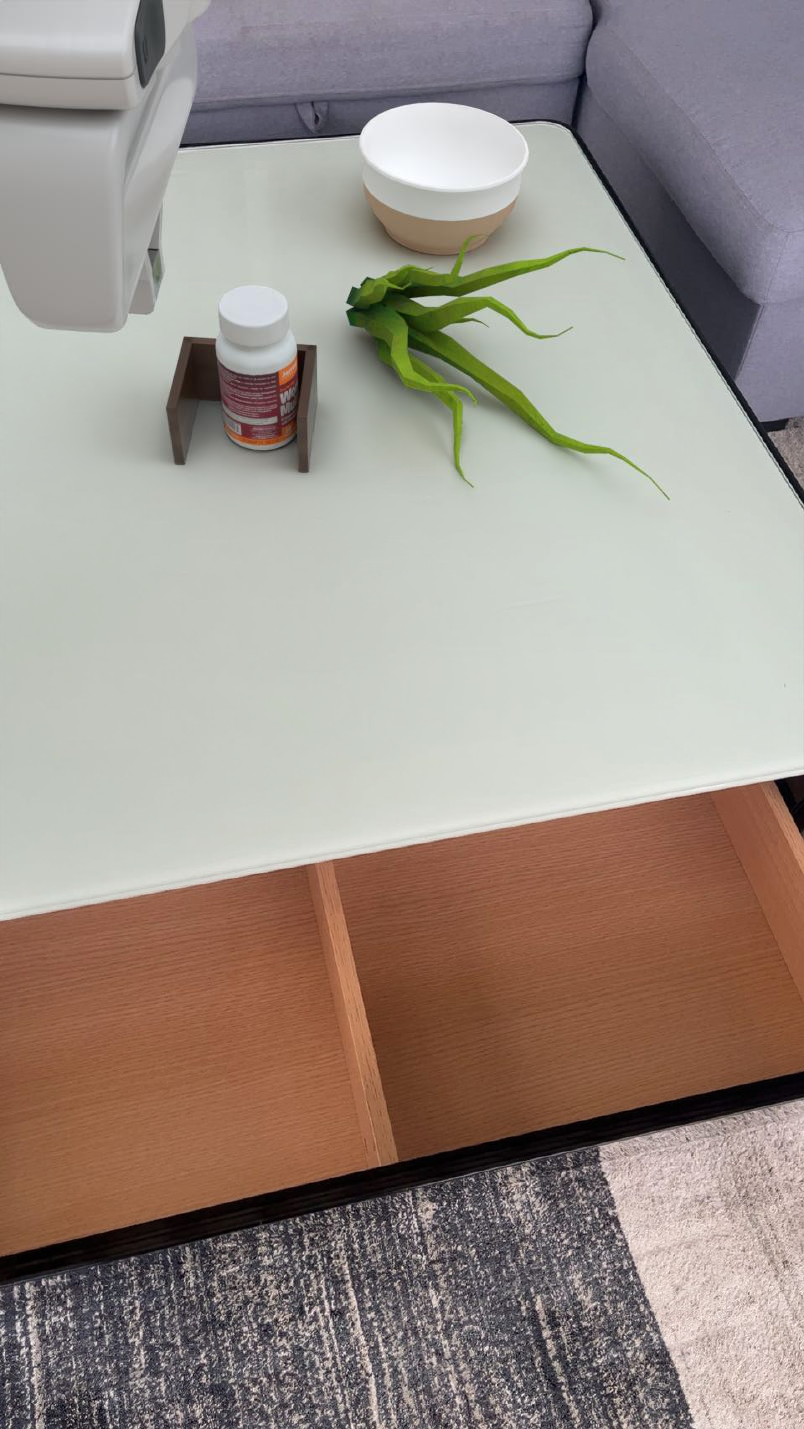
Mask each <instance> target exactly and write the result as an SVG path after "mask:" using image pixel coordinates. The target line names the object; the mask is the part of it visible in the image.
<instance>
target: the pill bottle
mask: <svg viewBox="0 0 804 1429" xmlns="http://www.w3.org/2000/svg"><path fill="white" fill-rule="evenodd" d="M217 306H218V307H217V312H218V324H219V330H220V331H219V332H218V333H217V335H216V338H217V339H216V356H217V363H218V371H219V380H220V391H221V400H222V401H221V408H222V419H223V426H224V431H225V433H226V435H227V436H228V438H230V439H231V441H233V442H234V443H235V444H236V445H239V446H241V447H242V448H246V449H250V450H255V451H269V450H275V449H279V448H280V447H283V446H285V445H287V444H289V443H290V442H291V441H292V440H293V439H294V438H295V437H296V435H297V411H298V404H299V394H298V366H297V344H298V343H297V339H296V336H295V334H294V333H293V331H292V330H291V328H290V317H289V316H290V315H289V303H288V300H287V298H286V297H285V296H284V295H283V294H282V293H281V292H280V291H278V290H276V289H274V288H272V287H269V286H266V285H261V284H260V285H259V284H247V285H241V286H237V287H234V288H231V289H230V290H228V291H226V292H225V293H224V294H223V295H222V296H221V297H220V299H219V301H218V305H217Z"/></svg>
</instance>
